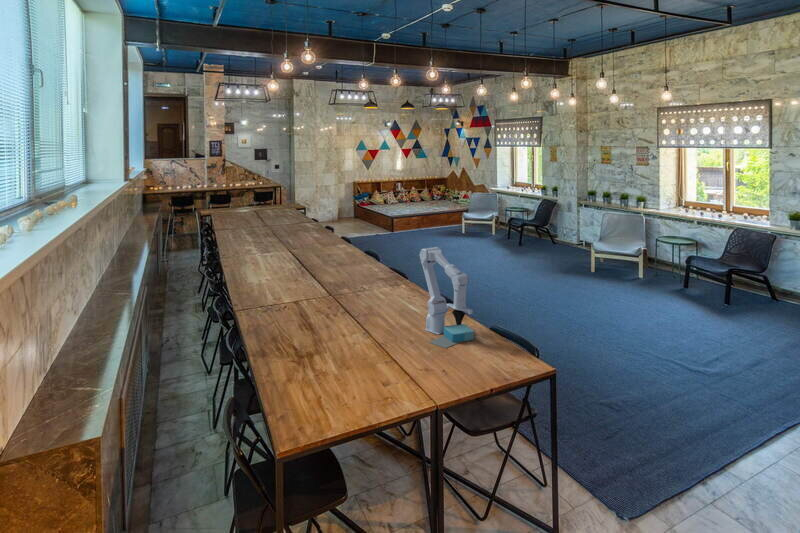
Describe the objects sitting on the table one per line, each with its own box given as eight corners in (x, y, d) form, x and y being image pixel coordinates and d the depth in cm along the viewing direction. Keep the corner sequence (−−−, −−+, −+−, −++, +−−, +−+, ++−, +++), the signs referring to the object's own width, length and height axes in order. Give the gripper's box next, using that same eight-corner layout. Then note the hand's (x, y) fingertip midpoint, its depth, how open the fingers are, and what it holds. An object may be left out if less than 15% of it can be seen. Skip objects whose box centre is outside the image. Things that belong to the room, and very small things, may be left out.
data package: (474, 339, 249) (463, 331, 260) (475, 331, 248) (463, 323, 259) (453, 343, 245) (442, 334, 256) (453, 334, 244) (442, 326, 255)
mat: (428, 342, 246) (428, 341, 246) (458, 330, 263) (458, 329, 263) (445, 348, 239) (445, 347, 239) (475, 335, 255) (475, 335, 255)
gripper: (476, 299, 241) (475, 326, 244) (453, 293, 251) (452, 319, 254) (467, 302, 236) (466, 329, 239) (444, 296, 246) (443, 322, 249)
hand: (458, 324), depth 246 cm, fingers closed
